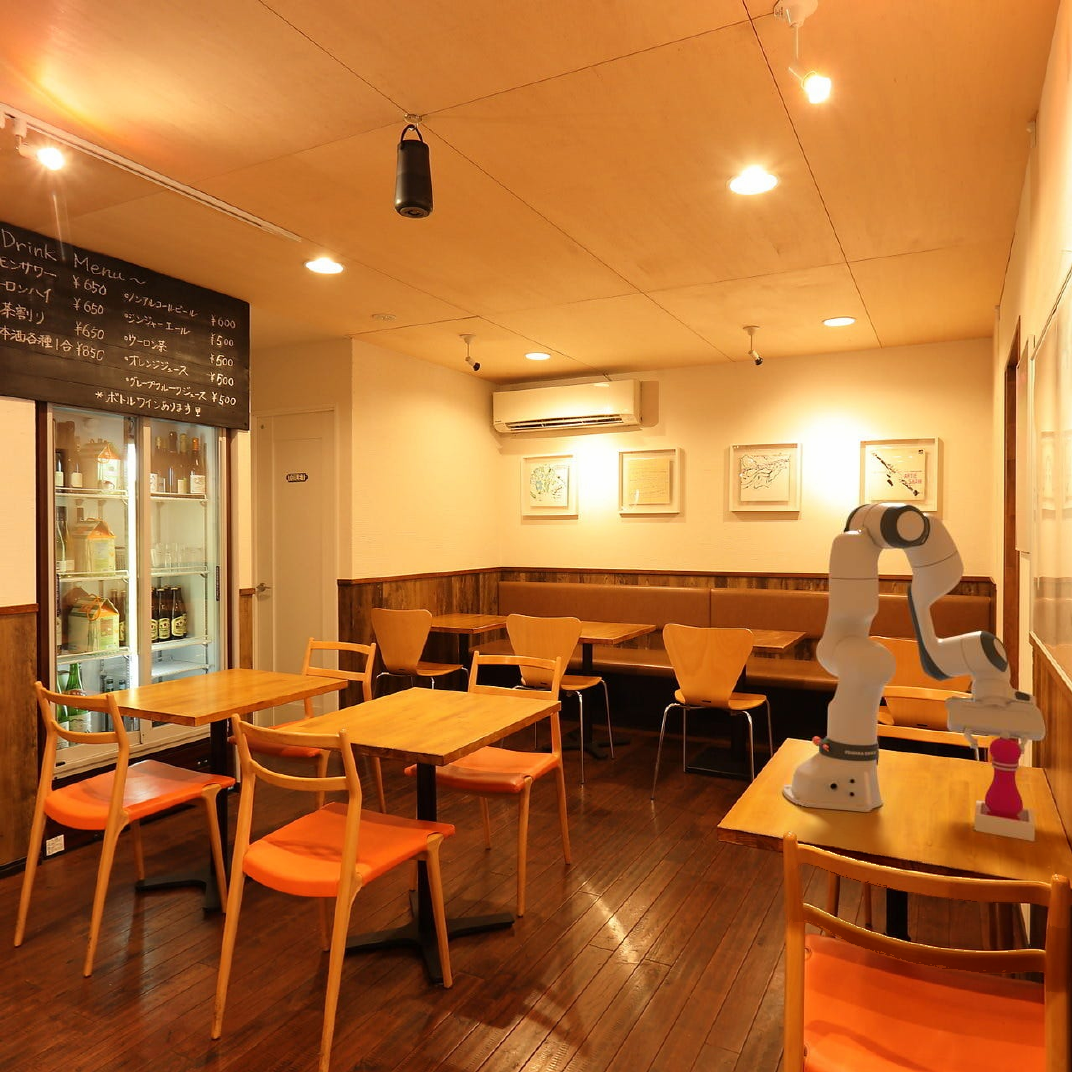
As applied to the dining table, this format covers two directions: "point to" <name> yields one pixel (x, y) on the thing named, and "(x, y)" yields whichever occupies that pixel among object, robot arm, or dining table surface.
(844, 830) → the dining table surface
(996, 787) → the pepper mill
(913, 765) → the dining table surface
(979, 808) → the mill holder
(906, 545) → the robot arm
